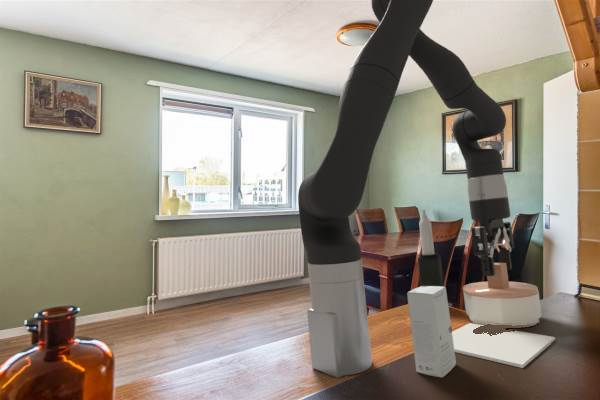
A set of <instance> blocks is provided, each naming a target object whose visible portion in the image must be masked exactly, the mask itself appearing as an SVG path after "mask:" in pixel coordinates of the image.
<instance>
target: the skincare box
mask: <svg viewBox="0 0 600 400" xmlns="http://www.w3.org/2000/svg"><path fill="white" fill-rule="evenodd" d="M406 295H407V304H408V312H409V321H410V328H411V338H412V339H411V340H412V347H413V356H414V364H415V370H416V372H417V373H418V374H423V375H427V376H432V377H436V378H445V376H446V375H448V373H450V372H451V371H452V370H453V368H454V367H455V366H456V364H457V361H456V360H457V359H456V352H455V351H454V343H453V336H452V332H453V331H452V322H451V317H450V316H451V315H450V310H449V302H448V294H447V287H446V286H444V287H442V286H419V287H415V288H413V289H412V290H410V291H408V292H407V293H406Z"/></svg>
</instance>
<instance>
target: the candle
mask: <svg viewBox="0 0 600 400" xmlns="http://www.w3.org/2000/svg"><path fill="white" fill-rule="evenodd" d="M421 211H422V212H421V213H422V214H421V218H420V221H419V223H418V224H419V234H420V241H421V242H420V243H421V252H422V253H420V254H419V255H418V256H419V257H417V264H418V265H417V266H418V274H419V285H420V286H419V287H421V286H442V287H445V286H444V285H445V283H444V275H443V267H442V266H443V265H442V258H441V255H439V253H437V252H436V253H435V247H434V246H435V244H434V236H433V235H434V234H433V228H432V221H431V220H430V219H429V218H428V215H427V213H426V209H425V208H424V209H422V210H421Z"/></svg>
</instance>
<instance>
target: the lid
mask: <svg viewBox="0 0 600 400" xmlns="http://www.w3.org/2000/svg"><path fill="white" fill-rule="evenodd" d="M494 268H495V275H494V276H486V279H487V281H478V282H471V283H468V284H465V285H463V287H462V290H463V291H464V292H463V294H464V293H466V294H468V295H472V296H477V297H484V298H523V297H529V296H533V295H536V294H538V291H539V287H538V286H537V285H534V284H532V283H527V282H519V281H509V274H508V270H507V266H506V263H499V262H494Z"/></svg>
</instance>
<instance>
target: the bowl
mask: <svg viewBox="0 0 600 400" xmlns="http://www.w3.org/2000/svg"><path fill="white" fill-rule="evenodd" d="M462 293H463V299H464V309H465V314H466V315H468V320H469V321H470V323H471V322H472V324H478V325H487V324H491V325H512V326H515V325H516V326H517V325H527V324H533V323H535V322H537V321H538V320H539V321H540V318H542V316H543V315H542V314H543V313H542V309H541V308H542V306H541V301H540V293H539V290H538V294H536V295H533V296H529V297H523V298H484V297H477V296H472V295H468V294H466V293H464V291H463V292H462Z"/></svg>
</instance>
